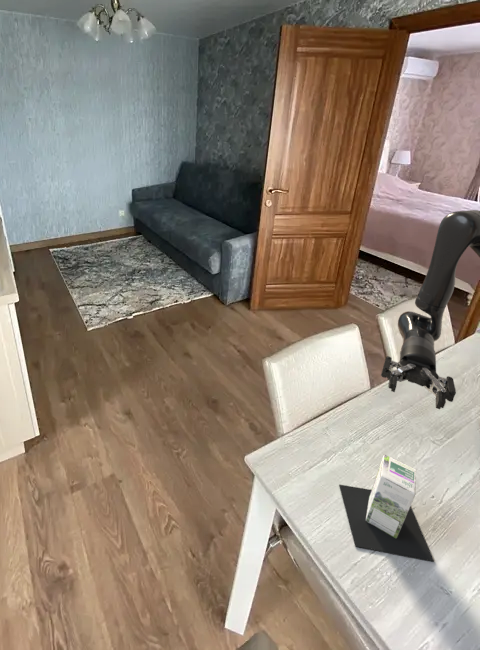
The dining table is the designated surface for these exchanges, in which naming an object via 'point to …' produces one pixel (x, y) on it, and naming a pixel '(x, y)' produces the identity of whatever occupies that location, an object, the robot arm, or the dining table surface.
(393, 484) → the syrup box
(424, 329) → the robot arm
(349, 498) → the plate
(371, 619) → the dining table surface
